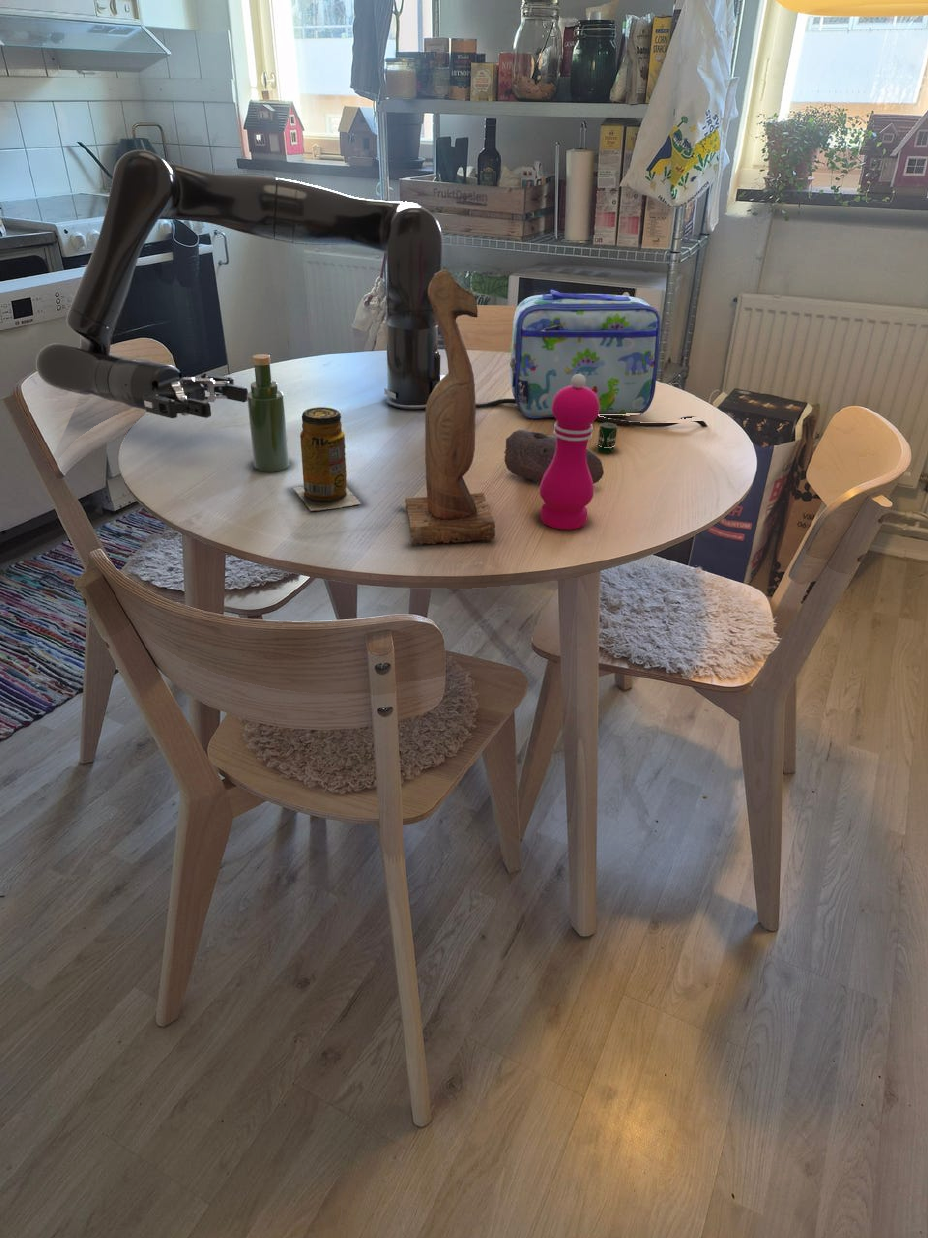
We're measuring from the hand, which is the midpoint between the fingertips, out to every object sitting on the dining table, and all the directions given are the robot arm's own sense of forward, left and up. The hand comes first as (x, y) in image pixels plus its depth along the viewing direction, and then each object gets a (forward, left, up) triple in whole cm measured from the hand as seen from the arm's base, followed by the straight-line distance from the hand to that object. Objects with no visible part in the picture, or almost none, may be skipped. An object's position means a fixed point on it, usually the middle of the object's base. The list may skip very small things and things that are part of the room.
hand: (228, 402), depth 123 cm
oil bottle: (-5, +5, -9) cm, 11 cm away
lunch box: (-61, -12, -9) cm, 63 cm away
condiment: (-12, +18, -9) cm, 23 cm away
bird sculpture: (-27, +30, -9) cm, 41 cm away
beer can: (-59, +7, -9) cm, 60 cm away
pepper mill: (-43, +31, -9) cm, 54 cm away
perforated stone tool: (-46, +18, -9) cm, 50 cm away
